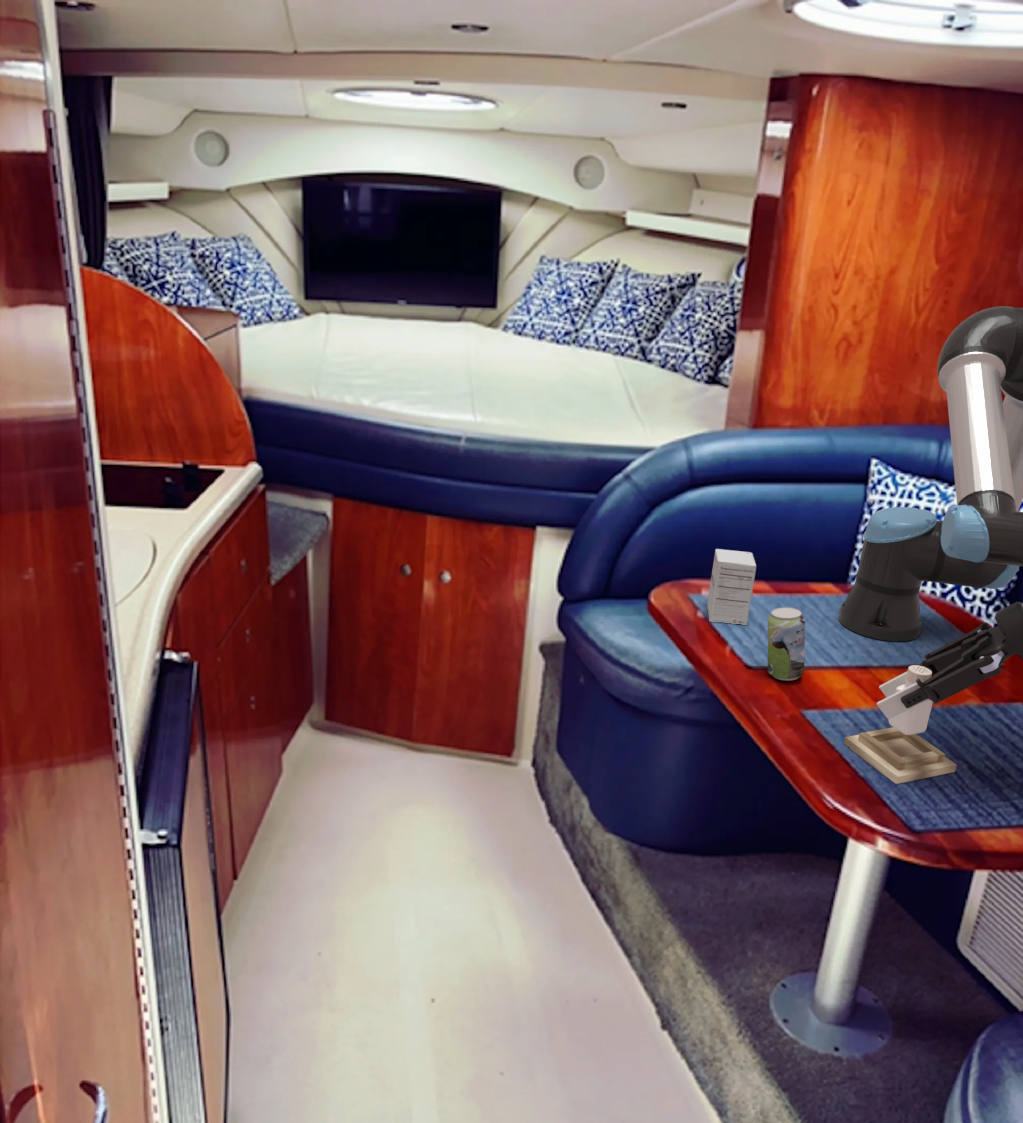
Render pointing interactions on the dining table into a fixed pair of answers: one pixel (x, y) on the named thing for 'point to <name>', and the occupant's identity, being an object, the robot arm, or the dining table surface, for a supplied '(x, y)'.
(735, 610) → the supplement box
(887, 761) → the tray
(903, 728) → the pepper shaker
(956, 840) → the dining table surface
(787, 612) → the beverage can
